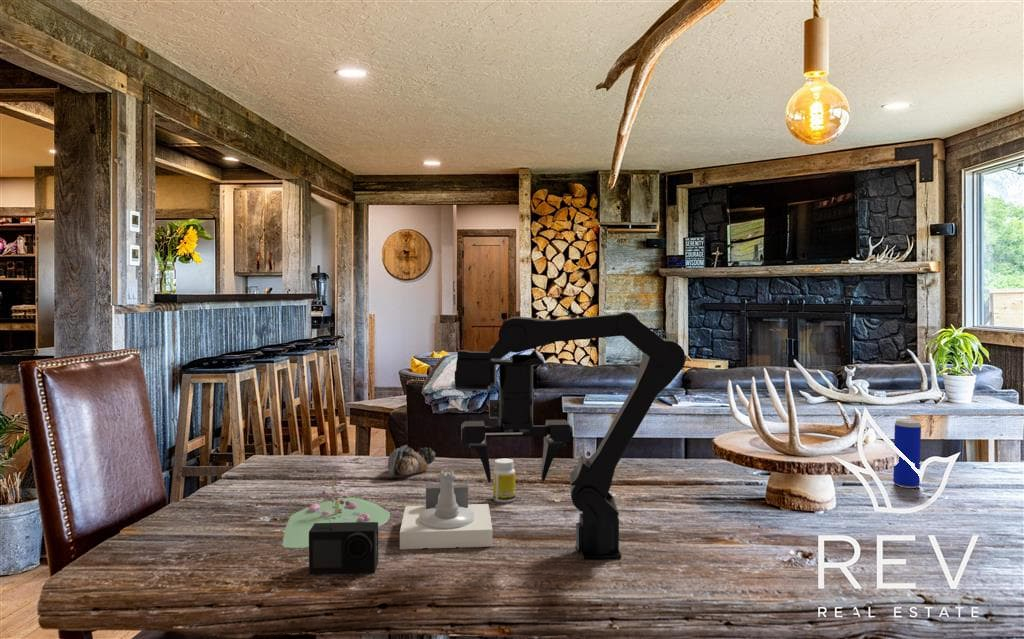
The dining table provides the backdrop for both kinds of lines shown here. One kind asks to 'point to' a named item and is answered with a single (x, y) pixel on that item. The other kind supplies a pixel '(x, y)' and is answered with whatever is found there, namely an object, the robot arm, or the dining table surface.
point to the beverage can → (907, 452)
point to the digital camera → (343, 548)
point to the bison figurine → (409, 460)
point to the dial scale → (446, 523)
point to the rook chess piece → (446, 496)
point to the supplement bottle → (504, 481)
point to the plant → (330, 516)
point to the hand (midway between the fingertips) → (516, 481)
